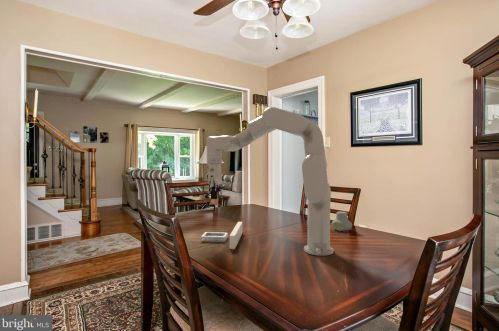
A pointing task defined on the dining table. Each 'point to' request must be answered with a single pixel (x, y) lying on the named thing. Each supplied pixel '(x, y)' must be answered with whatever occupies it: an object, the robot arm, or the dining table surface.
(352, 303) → the dining table surface
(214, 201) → the grandmother figurine
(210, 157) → the robot arm
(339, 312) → the dining table surface
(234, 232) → the white long flat block
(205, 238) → the grey hollow rectangular frame
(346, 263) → the dining table surface
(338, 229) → the air freshener
